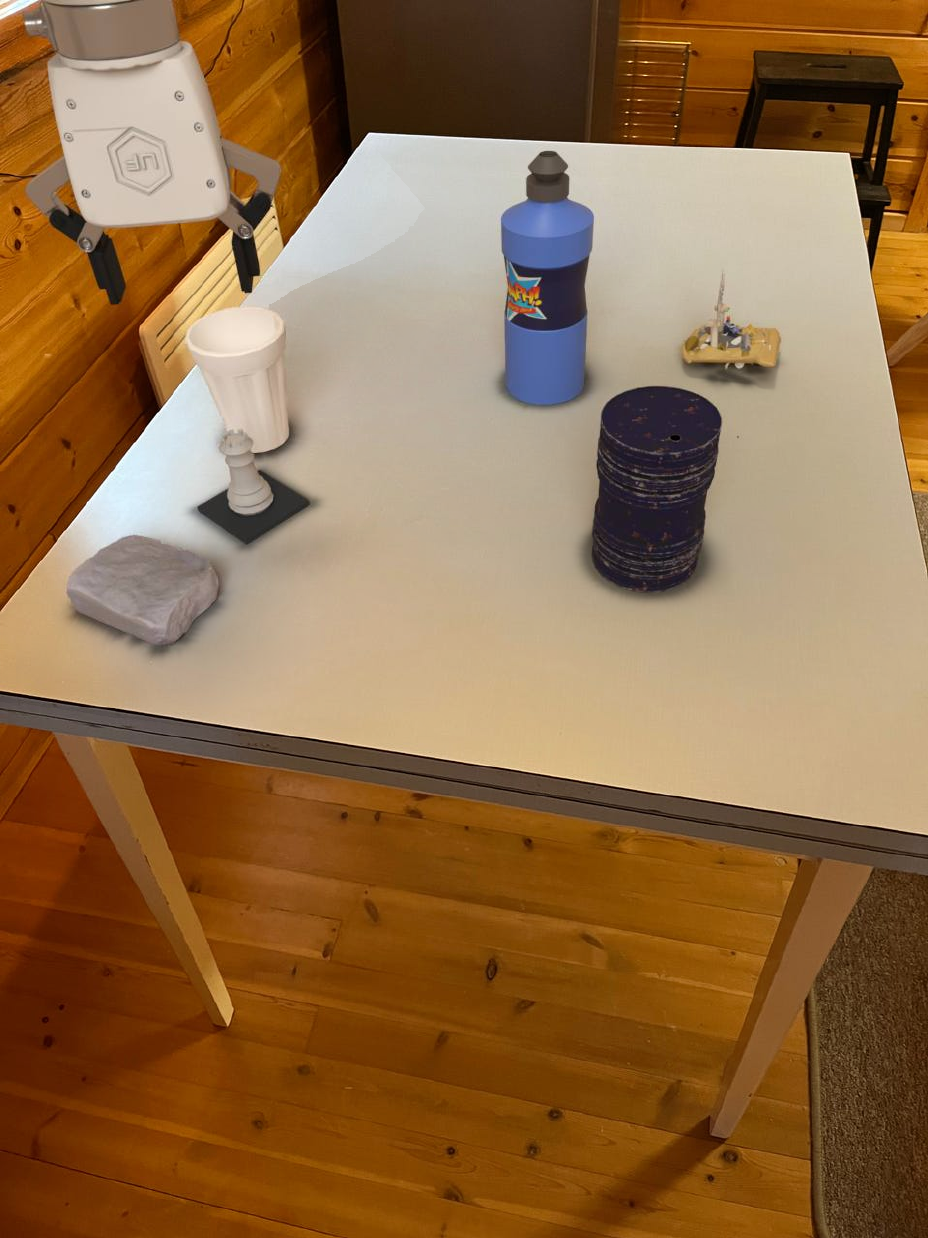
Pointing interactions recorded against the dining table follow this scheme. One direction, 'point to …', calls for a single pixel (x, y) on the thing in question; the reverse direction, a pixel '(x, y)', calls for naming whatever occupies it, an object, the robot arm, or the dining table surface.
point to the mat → (258, 524)
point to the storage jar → (653, 486)
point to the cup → (245, 370)
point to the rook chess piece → (244, 475)
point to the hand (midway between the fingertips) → (183, 290)
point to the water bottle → (546, 286)
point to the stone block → (144, 588)
